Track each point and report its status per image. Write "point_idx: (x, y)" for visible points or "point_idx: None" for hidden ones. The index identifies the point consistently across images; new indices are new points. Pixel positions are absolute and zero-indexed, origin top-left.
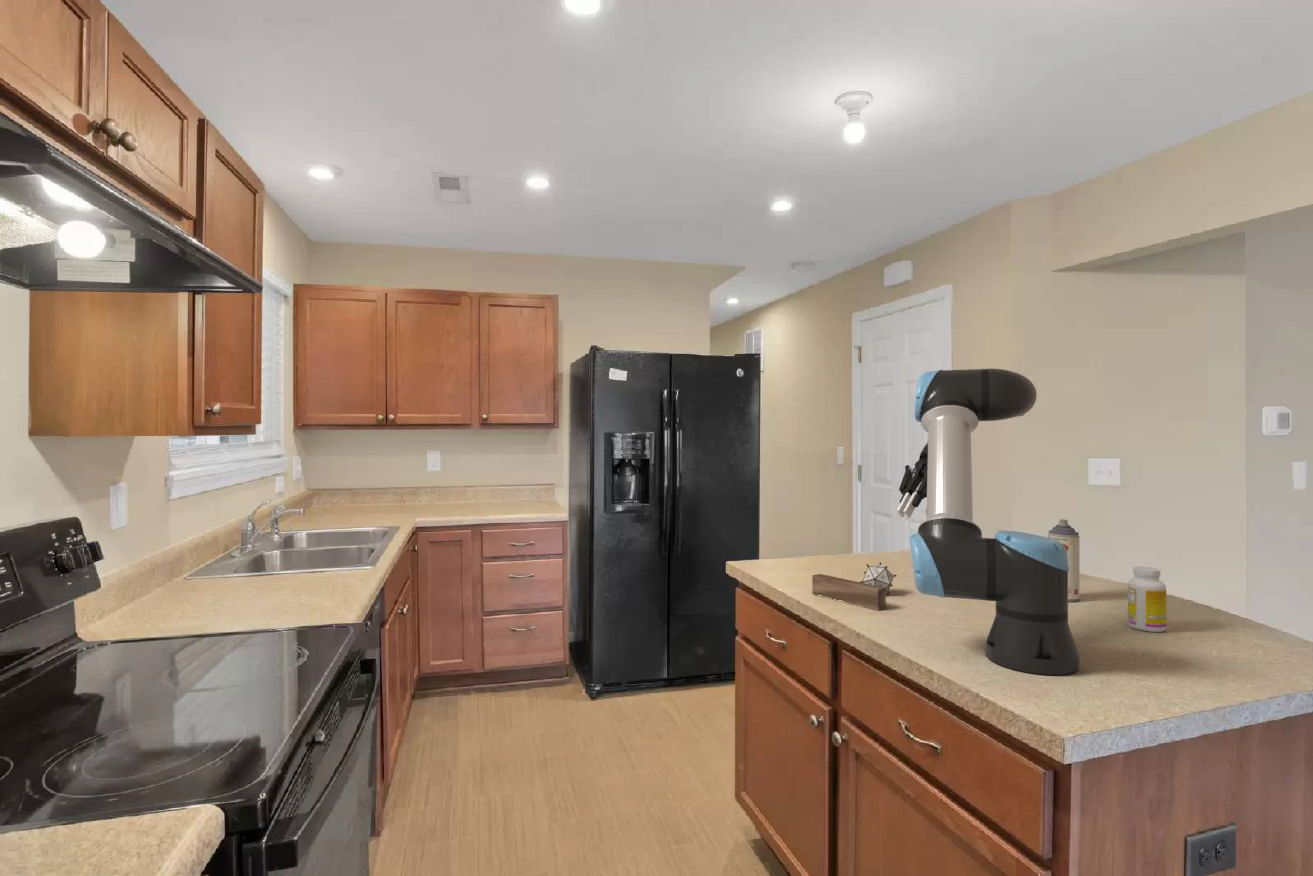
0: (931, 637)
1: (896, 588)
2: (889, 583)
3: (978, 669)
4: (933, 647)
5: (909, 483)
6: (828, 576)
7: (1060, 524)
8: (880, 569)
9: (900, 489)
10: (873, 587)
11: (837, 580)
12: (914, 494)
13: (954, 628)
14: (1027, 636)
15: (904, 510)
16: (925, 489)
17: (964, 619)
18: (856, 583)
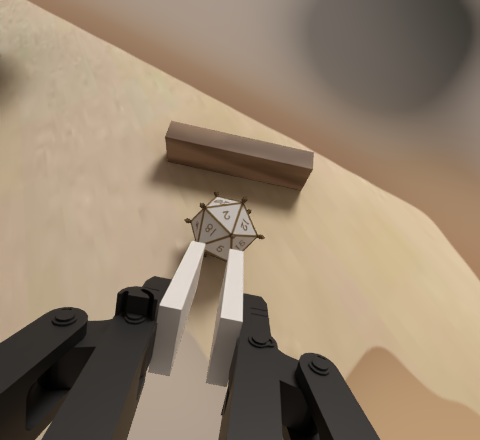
0: (71, 82)
1: (213, 318)
2: (192, 219)
3: (8, 25)
4: (62, 56)
5: (270, 421)
6: (287, 159)
7: None
8: (214, 204)
9: (317, 357)
10: (184, 129)
11: (257, 141)
12: (166, 299)
13: (46, 125)
14: None
15: (199, 244)
16: (65, 330)
17: (35, 172)
18: (220, 139)
